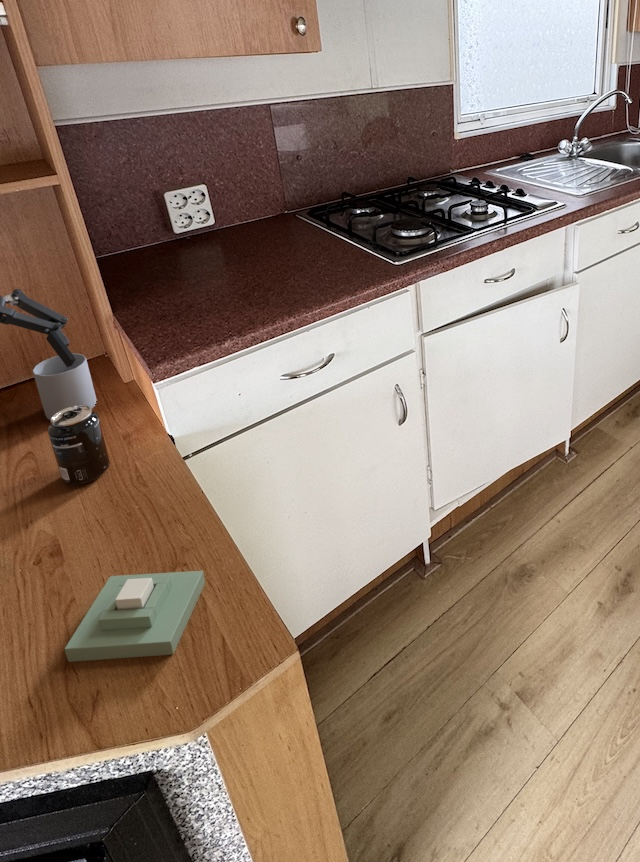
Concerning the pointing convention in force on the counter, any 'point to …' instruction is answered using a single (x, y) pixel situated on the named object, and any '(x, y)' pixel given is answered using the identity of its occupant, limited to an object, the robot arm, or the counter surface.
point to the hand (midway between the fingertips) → (29, 382)
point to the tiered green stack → (137, 619)
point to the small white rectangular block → (134, 594)
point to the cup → (64, 384)
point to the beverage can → (78, 444)
